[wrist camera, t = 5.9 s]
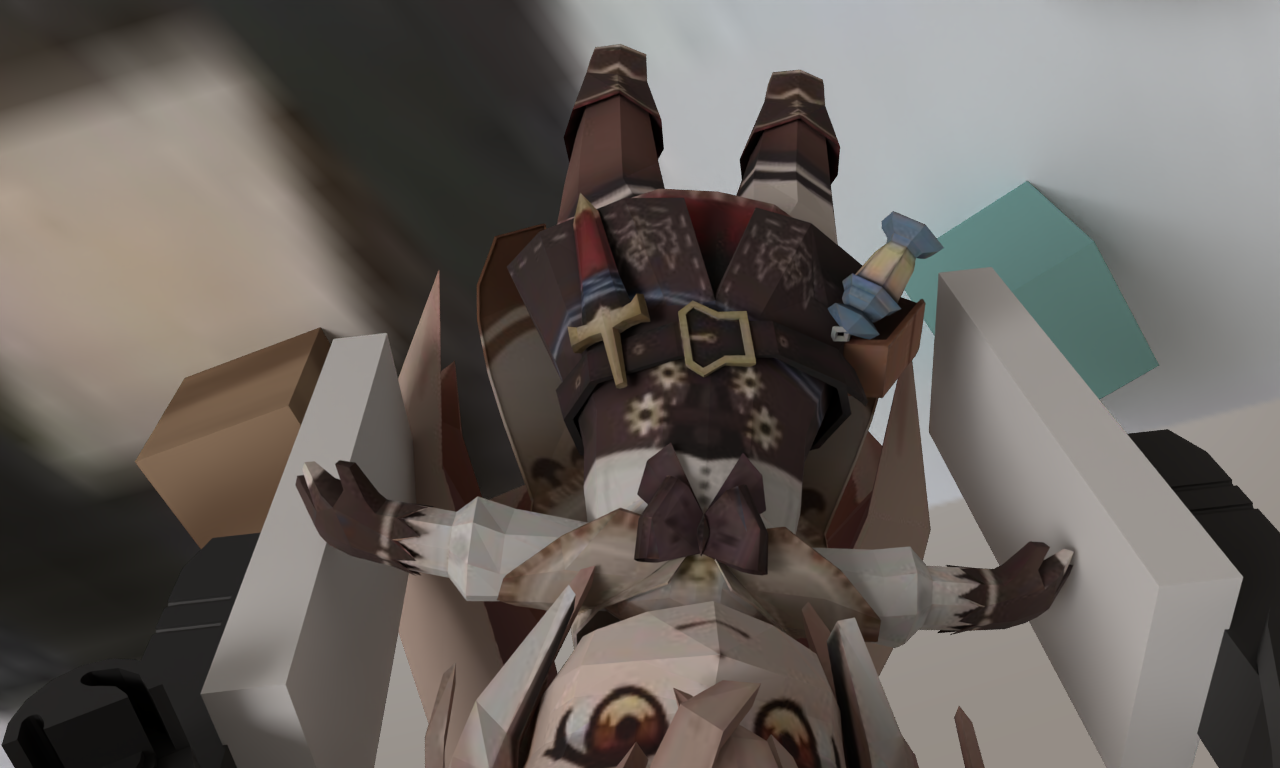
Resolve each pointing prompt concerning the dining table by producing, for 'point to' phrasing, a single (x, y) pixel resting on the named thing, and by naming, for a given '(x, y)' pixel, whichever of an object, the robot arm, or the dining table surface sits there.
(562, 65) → the dining table surface
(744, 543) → the toy
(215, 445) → the walnut cube
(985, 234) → the teal cube
